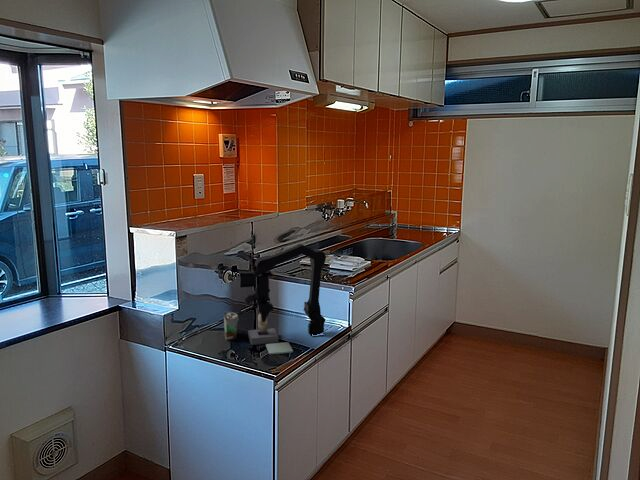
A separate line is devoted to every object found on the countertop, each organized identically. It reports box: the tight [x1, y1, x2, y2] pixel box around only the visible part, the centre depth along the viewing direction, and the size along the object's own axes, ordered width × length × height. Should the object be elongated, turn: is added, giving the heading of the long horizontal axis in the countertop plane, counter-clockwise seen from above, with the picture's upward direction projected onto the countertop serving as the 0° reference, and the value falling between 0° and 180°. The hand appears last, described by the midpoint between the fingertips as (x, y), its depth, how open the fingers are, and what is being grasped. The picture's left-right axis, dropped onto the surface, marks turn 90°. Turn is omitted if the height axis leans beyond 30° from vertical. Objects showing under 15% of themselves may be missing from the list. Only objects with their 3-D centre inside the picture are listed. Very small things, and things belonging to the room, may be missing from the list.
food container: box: [223, 311, 240, 341], centre depth 224 cm, size 12×6×10 cm, turn 17°
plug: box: [257, 313, 268, 332], centre depth 221 cm, size 4×4×7 cm
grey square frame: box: [247, 327, 279, 346], centre depth 222 cm, size 12×10×3 cm
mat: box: [265, 341, 294, 355], centre depth 212 cm, size 10×10×1 cm
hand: (262, 320), depth 220 cm, fingers closed on plug, 4 cm apart
